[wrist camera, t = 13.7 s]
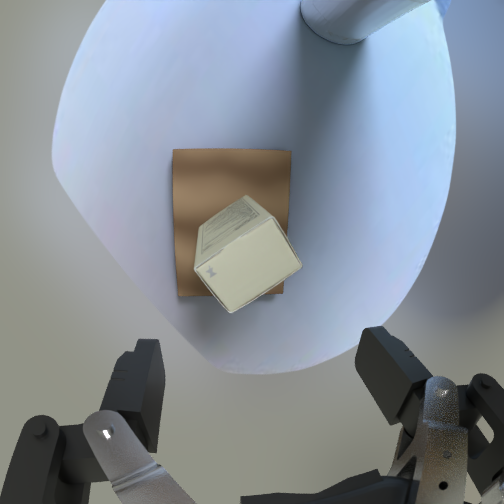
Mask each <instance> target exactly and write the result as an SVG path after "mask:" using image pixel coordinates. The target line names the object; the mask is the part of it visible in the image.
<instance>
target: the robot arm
mask: <svg viewBox="0 0 504 504" xmlns="http://www.w3.org/2000/svg"><path fill="white" fill-rule="evenodd" d="M428 1H430V0H302V1H301V4H300V5H301V13H302V16H303V18H304V20H305V22H306V23H307V24H308V26H309V27H310V28H311V29H312V30H313V31H314V32H315V33H317V34H318V35H320V36H321V37H322V38H324V39H326V40H329V41H331V42H334V43H337V44H344V45H349V44H355V43H358V42H360V41H361V40H363V39H365V38H366V37H368V36H369V35H371V34H372V33H374V32H376V31H377V30H379V29H381V28H382V27H384V26H386V25H387V24H389V23H391V22H392V21H394V20H396V19H397V18H399V17H401V16H403V15H404V14H406V13H408V12H410V11H412V10H413V9H415V8H417V7H419V6H421V5H423V4H425V3H427V2H428ZM355 367H356V370H357V372H358V374H359V375H360V377H361V378H362V380H363V382H364V383H365V385H366V387H367V388H368V390H369V392H370V393H371V395H372V396H373V398H374V400H375V401H376V403H377V405H378V406H379V408H380V410H381V411H382V413H383V415H384V416H385V418H386V419H387V421H388V423H389V424H390V425H394V424H397V423H399V422H401V423H402V425H403V426H402V428H401V430H400V433H399V438H398V442H397V447H396V451H395V455H394V459H393V462H392V466H391V468H390V470H389V472H388V474H387V476H380V473H379V472H378V469H375V470H372V471H369V472H366V473H363V474H360V475H357V476H353V477H350V478H347V479H345V480H343V481H341V482H339V483H338V484H335V485H334V486H331V487H330V488H327V489H325V490H323V491H321V492H319V493H315V494H294V493H271V494H263V495H253V496H241V499H240V501H241V502H240V504H471V503H468V502H465V501H464V494H465V485H466V475H467V472H468V474H469V475H470V477H471V479H472V481H473V482H474V484H475V486H476V488H477V489H478V491H479V493H480V495H481V497H482V498H481V502H480V503H479V504H504V389H503V388H502V387H501V386H500V385H499V384H498V382H497V381H496V380H495V379H494V378H493V377H491V376H489V375H487V374H481V373H480V374H476V375H475V376H474V377H473V378H472V380H471V382H470V384H469V385H458V386H456V384H455V383H454V382H453V381H451V380H450V379H448V378H446V377H443V376H434V377H433V375H432V374H431V373H430V372H429V371H428V370H427V369H426V367H425V366H424V365H423V364H422V363H421V362H420V361H419V360H418V359H417V357H415V356H414V354H413V353H412V352H411V351H409V348H408V347H407V346H406V345H405V344H404V343H403V342H402V341H401V340H399V339H397V338H396V337H394V336H391V335H390V334H389V333H388V332H387V330H386V329H385V328H384V327H383V326H377V327H370V328H365V329H364V330H363V332H362V335H361V339H360V342H359V346H358V350H357V353H356V357H355ZM164 389H165V370H164V364H163V359H162V354H161V348H160V343H159V340H158V339H138V341H137V344H136V347H135V350H134V352H128V351H126V352H125V353H124V354H123V355H122V356H121V357H119V358H118V360H117V362H116V364H115V367H114V372H112V375H111V380H110V381H109V383H108V387H107V389H106V392H105V395H104V398H103V401H102V404H101V407H100V410H99V411H97V412H94V413H92V414H91V415H90V416H88V417H87V419H86V420H85V422H84V423H83V424H79V425H68V426H59V425H58V424H57V422H56V421H55V420H54V419H53V418H51V417H49V416H45V415H38V416H34V417H32V418H31V419H29V420H28V421H27V422H26V423H25V425H24V427H23V429H22V431H21V434H20V437H19V439H18V442H17V445H16V447H15V450H14V453H13V456H12V459H11V462H10V465H9V468H8V471H7V474H6V478H5V482H4V485H3V489H2V492H1V496H0V504H88V502H89V494H90V486H91V482H102V481H110V482H111V484H112V488H113V490H114V492H115V493H116V495H117V496H118V498H119V499H120V501H121V502H122V504H197V503H195V501H194V500H193V499H192V498H190V496H189V495H188V494H187V493H186V492H185V491H184V490H183V489H182V488H181V487H180V486H179V484H177V482H176V481H175V480H174V479H173V478H172V477H171V475H170V474H169V473H168V472H167V471H166V470H165V469H164V468H163V467H162V466H161V465H158V464H157V463H156V462H155V461H154V459H153V458H152V457H151V456H150V454H149V453H148V452H150V453H157V444H158V435H159V427H160V418H161V411H162V403H163V396H164ZM482 416H483V417H484V419H485V420H486V421H487V423H488V424H489V425H490V427H491V428H492V430H493V432H494V438H493V441H492V442H491V443H489V442H488V441H487V439H486V438H485V436H484V435H483V433H482V432H481V431H480V429H479V428H478V426H477V425H476V424H477V422H478V421H479V419H480V418H481V417H482Z"/></svg>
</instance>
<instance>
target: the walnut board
mask: <svg viewBox="0 0 504 504" xmlns="http://www.w3.org/2000/svg"><path fill="white" fill-rule="evenodd" d="M290 171H291V151H284V150H264V149H173V216H174V240H175V258H176V273H177V286H178V296H214V295H213V294H212V293H211V291H210V290H209V289H208V288H207V286H206V285H205V284H204V282H203V281H202V280H201V278H200V277H199V276H198V274H197V273H196V272H195V270H194V263H195V255H196V246H197V238H198V230H199V227H200V226H201V225H202V224H204V223H205V222H206V221H208V220H209V219H210V218H212V217H213V216H214V215H216V214H217V213H219V212H220V211H222V210H223V209H225V208H226V207H228V206H229V205H231V204H232V203H234V202H235V201H237V200H238V199H240V198H242V197H243V196H245V195H248V196H249V197H250V198H252V199H253V200H254V201H255V202H257V203H258V204H259V205H260V206H261V207H263V208H264V209H265V210H266V211H267V212H269V213H270V214H271V215H272V216H274V217H275V219H276V220H277V222H278V223H279V225H280V227H281V228H282V230H283V231H284V233H285V235H286V237H287V228H288V211H289V192H290ZM283 286H284V281H282V282H281V283H279V284H278V285H276V286H275V287H273V288H272V289H270V290H269V291H267V292H266V293H264V294H283Z"/></svg>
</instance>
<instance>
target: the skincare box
mask: <svg viewBox="0 0 504 504" xmlns="http://www.w3.org/2000/svg"><path fill="white" fill-rule="evenodd" d="M300 268H302V263H301V262H300V260H299V258H298V256H297V254H296V252H295V250H294V249H293V247H292V245H291V243H290V242H289V240H288V238H287V237H286V235H285V233H284V231H283V230H282V228H281V227H280V225H279V223H278V222H277V220H276V219H275V217H274V216H272V215H271V214H270V213H269V212H267V211H266V210H265V209H264V208H263V207H261V206H260V205H259V204H258V203H257V202H255V201H254V200H253V199H252V198H250V197H249V196H248V195H245V196H243V197H242V198H240V199H238V200H237V201H235V202H234V203H232V204H231V205H229V206H228V207H226V208H225V209H223V210H222V211H220V212H219V213H217V214H216V215H214V216H213V217H212V218H210V219H209V220H208V221H206V222H205V223H204V224H202V225H201V226H200V227H199V230H198V238H197V246H196V255H195V263H194V270H195V272H196V273H197V274H198V276H199V277H200V278H201V280H202V281H203V282H204V284H205V285H206V286H207V288H208V289H209V290H210V291H211V293H212V294H213V295H214V296H215V298H216V299H217V300H218V301H219V302H220V304H221V305H222V306H223V307H224V308H225V309H226V310H227V311H228V312H229V313H233V312H235V311H236V310H238V309H240V308H242V307H244V306H245V305H247V304H249V303H250V302H252V301H254V300H255V299H257V298H258V297H260V296H261V295H263V294H264V293H266V292H267V291H269V290H270V289H272V288H273V287H275V286H276V285H278V284H279V283H281V282H282V281H284V280H285V279H286V278H288V277H289V276H291V275H292V274H293V273H295V272H296V271H298V270H299V269H300Z"/></svg>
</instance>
